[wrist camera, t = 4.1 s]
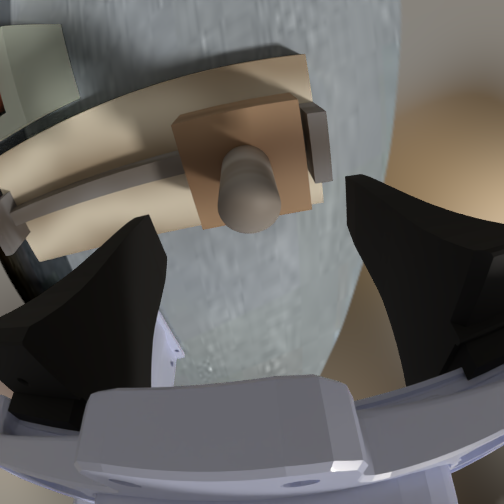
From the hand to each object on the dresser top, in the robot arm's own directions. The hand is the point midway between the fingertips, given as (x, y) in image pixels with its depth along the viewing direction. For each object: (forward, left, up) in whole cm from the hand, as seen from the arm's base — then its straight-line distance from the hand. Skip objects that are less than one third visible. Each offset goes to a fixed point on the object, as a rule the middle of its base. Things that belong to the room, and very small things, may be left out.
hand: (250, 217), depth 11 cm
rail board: (0, +8, -10) cm, 13 cm away
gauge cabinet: (+9, +13, -10) cm, 19 cm away
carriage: (0, 0, -7) cm, 7 cm away
